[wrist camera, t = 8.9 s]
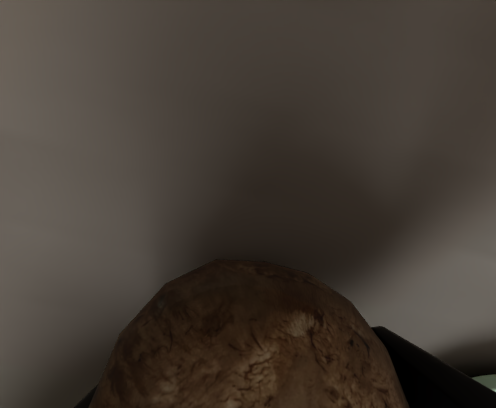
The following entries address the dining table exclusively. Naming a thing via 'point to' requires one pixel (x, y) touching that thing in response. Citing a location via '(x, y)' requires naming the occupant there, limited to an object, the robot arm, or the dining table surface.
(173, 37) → the dining table surface
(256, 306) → the mushroom
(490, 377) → the lid
